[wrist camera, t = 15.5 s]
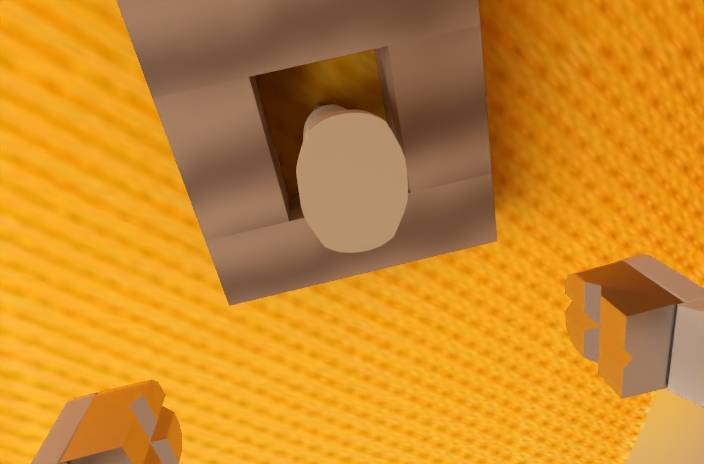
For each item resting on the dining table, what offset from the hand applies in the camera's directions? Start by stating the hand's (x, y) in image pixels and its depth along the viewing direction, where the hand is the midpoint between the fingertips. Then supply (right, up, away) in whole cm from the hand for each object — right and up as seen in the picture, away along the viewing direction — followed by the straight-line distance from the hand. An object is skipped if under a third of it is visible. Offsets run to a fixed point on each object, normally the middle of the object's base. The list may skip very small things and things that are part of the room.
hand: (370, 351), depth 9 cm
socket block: (-2, +10, +25) cm, 27 cm away
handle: (-2, +10, +25) cm, 27 cm away
